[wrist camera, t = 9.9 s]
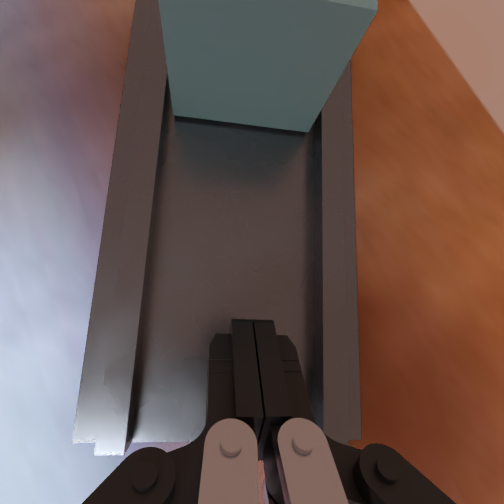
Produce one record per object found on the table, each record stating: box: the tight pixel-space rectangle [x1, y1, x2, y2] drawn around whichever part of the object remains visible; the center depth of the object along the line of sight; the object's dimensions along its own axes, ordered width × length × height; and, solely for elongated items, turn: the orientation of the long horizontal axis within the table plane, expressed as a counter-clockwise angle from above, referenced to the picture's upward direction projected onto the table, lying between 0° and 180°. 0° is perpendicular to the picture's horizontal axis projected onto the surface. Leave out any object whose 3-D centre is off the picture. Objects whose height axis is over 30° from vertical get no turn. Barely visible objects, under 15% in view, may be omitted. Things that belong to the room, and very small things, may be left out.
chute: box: [72, 0, 362, 455], centre depth 18 cm, size 14×28×2 cm, turn 178°
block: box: [158, 0, 378, 132], centre depth 16 cm, size 8×6×8 cm
